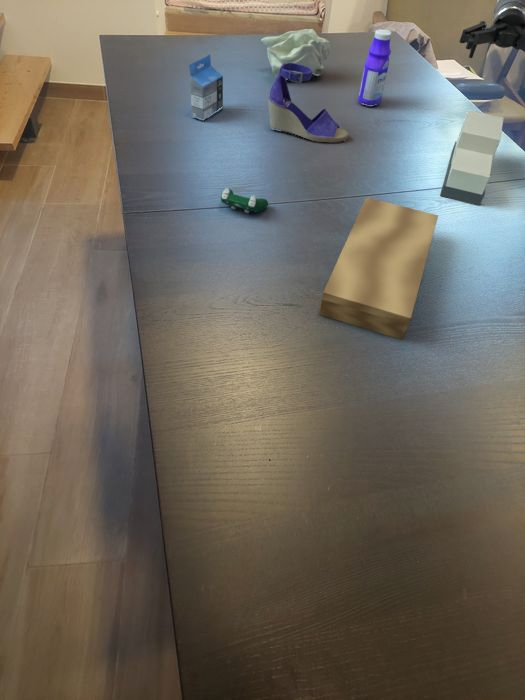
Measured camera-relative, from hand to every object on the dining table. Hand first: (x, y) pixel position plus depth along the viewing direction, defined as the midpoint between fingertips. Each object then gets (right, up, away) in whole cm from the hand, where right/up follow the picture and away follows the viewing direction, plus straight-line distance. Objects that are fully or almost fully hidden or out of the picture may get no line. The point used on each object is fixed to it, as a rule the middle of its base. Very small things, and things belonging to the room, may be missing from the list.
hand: (504, 57), depth 110 cm
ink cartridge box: (-66, -3, +20) cm, 69 cm away
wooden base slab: (-31, -49, -18) cm, 61 cm away
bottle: (-23, +4, +30) cm, 38 cm away
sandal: (-41, -10, +16) cm, 45 cm away
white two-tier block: (-6, -24, +6) cm, 25 cm away
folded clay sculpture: (-43, +16, +38) cm, 60 cm away
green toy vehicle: (-56, -35, -7) cm, 67 cm away
